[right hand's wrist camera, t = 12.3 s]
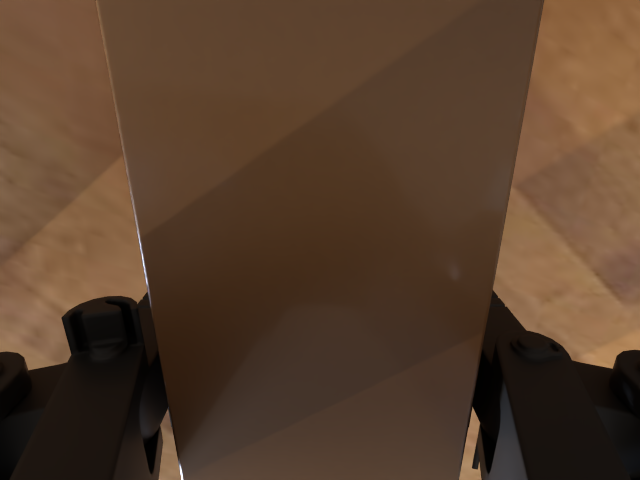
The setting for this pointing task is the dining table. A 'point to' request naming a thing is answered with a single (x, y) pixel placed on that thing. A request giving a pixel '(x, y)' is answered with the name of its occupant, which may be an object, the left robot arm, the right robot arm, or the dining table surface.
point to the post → (319, 221)
